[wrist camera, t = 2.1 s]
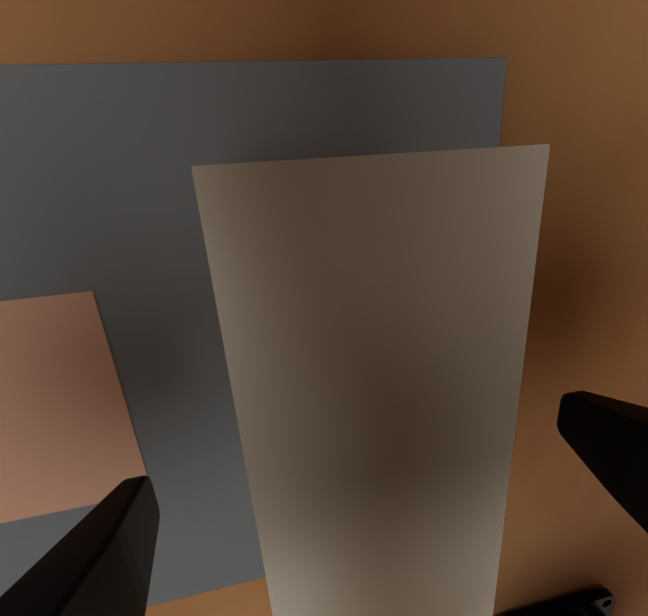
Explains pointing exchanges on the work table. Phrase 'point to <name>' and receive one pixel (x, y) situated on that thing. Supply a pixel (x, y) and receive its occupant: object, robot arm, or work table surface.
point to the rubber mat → (163, 277)
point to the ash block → (377, 366)
